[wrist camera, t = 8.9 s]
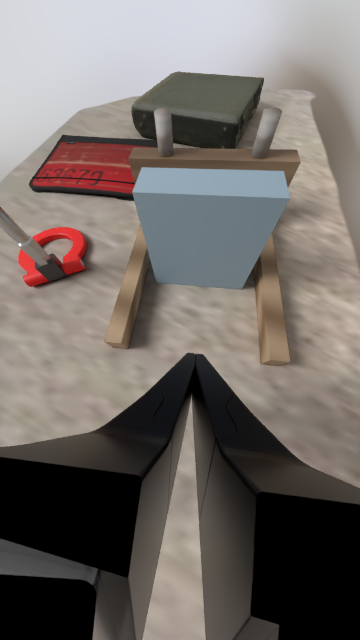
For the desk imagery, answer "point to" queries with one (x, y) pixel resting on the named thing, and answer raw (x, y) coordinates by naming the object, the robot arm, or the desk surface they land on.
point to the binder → (89, 167)
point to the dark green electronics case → (200, 108)
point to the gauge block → (207, 222)
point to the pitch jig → (265, 266)
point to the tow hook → (37, 259)
